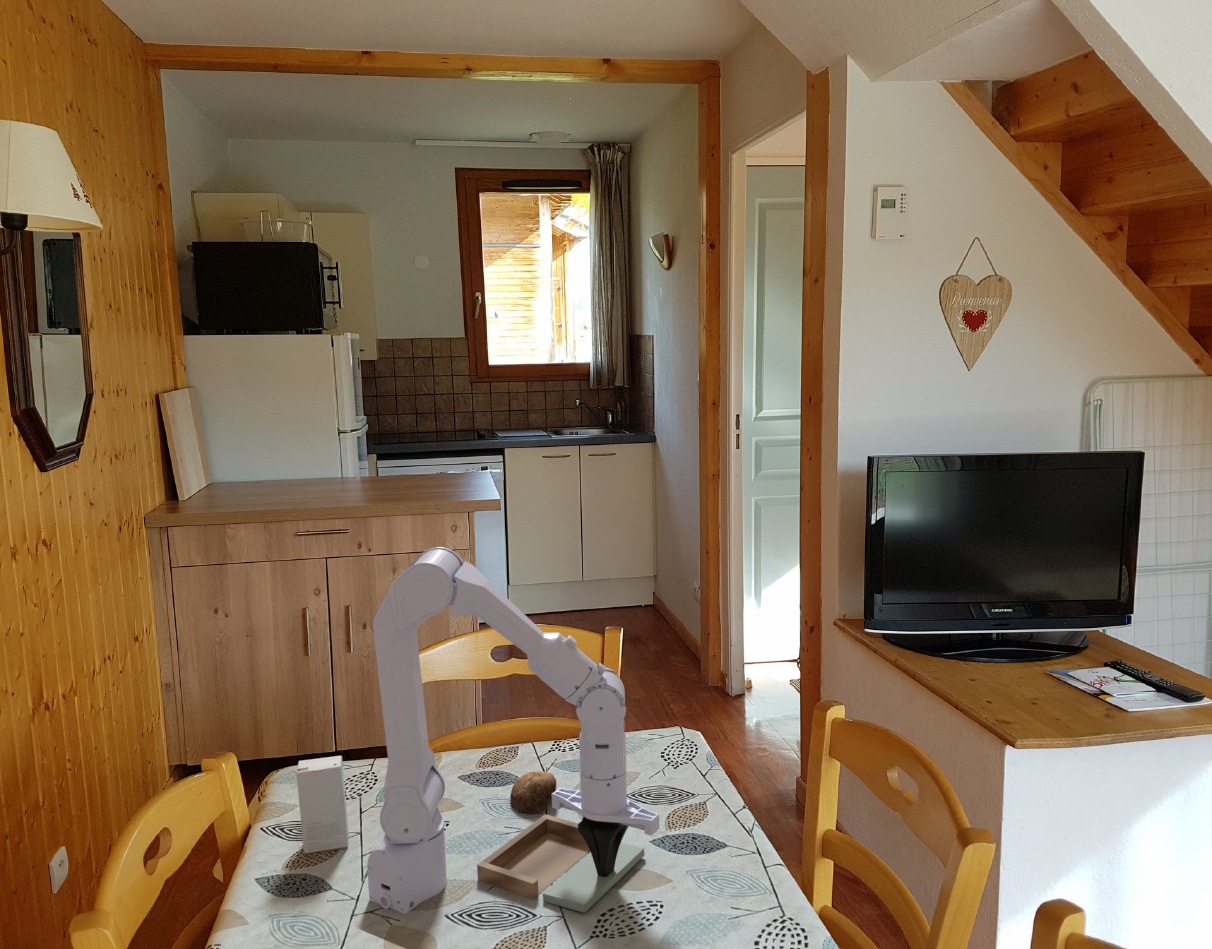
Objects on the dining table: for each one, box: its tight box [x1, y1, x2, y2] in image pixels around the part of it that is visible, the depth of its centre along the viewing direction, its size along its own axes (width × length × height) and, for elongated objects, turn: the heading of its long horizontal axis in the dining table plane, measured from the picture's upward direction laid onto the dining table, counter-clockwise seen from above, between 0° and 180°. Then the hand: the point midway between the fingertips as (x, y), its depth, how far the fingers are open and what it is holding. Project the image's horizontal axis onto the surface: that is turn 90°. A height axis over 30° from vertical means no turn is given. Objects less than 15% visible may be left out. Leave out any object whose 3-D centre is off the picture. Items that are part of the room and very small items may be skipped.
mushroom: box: [509, 771, 557, 815], centre depth 140 cm, size 8×8×6 cm
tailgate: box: [542, 842, 645, 914], centre depth 119 cm, size 1×15×6 cm
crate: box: [476, 814, 590, 900], centre depth 124 cm, size 9×15×4 cm, turn 149°
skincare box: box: [295, 755, 350, 854], centre depth 132 cm, size 6×4×12 cm
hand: (605, 872), depth 119 cm, fingers closed, pressing on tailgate
